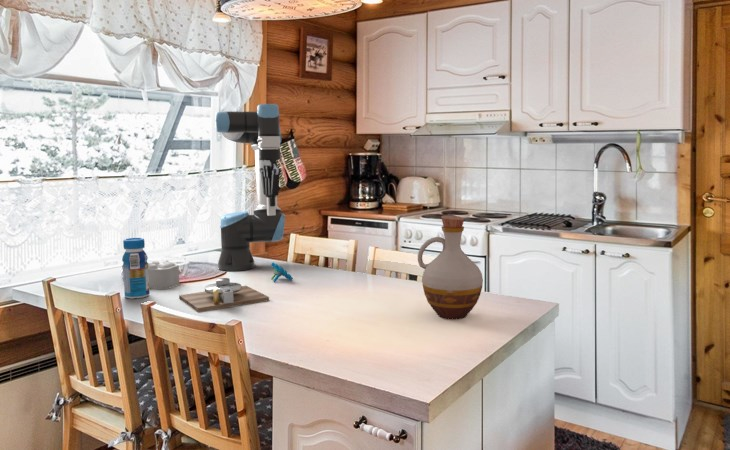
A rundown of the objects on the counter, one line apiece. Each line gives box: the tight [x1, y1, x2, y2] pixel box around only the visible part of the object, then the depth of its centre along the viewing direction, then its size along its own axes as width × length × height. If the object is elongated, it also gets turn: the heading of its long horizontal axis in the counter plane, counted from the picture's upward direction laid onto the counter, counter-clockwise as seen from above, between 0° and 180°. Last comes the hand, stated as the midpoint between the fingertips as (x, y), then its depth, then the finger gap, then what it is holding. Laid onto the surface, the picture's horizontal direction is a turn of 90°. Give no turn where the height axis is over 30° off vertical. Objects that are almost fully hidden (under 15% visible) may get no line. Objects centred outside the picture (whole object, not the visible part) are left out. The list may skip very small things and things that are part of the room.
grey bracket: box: [204, 277, 243, 304], centre depth 199 cm, size 19×12×5 cm, turn 20°
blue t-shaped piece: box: [270, 262, 294, 283], centre depth 228 cm, size 11×6×10 cm
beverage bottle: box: [121, 237, 151, 300], centre depth 207 cm, size 8×8×20 cm
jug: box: [417, 215, 484, 321], centre depth 179 cm, size 20×18×30 cm
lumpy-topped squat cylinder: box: [147, 260, 180, 290], centre depth 224 cm, size 10×13×9 cm
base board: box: [178, 285, 270, 313], centre depth 202 cm, size 20×24×3 cm
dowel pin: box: [213, 290, 219, 305], centre depth 192 cm, size 2×2×4 cm
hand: (271, 215), depth 215 cm, fingers closed
